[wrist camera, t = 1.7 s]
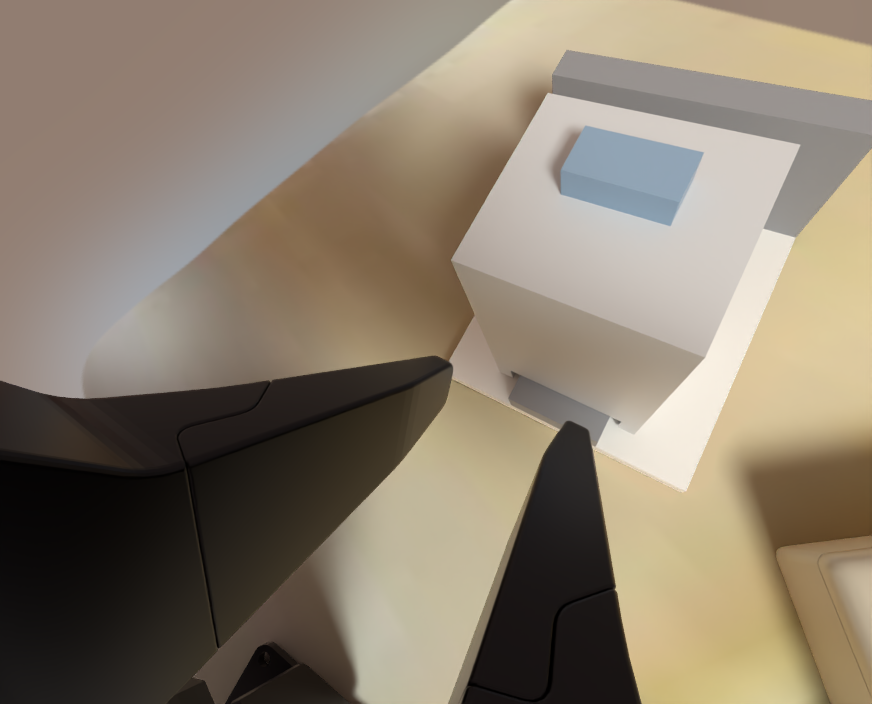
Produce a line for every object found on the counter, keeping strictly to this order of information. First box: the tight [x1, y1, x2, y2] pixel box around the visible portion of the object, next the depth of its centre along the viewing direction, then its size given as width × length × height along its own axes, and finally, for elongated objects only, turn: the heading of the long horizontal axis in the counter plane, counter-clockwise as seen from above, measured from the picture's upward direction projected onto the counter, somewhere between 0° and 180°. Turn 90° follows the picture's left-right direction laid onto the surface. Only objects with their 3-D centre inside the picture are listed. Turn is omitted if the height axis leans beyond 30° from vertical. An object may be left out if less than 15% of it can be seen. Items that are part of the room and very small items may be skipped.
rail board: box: [449, 50, 872, 492], centre depth 17 cm, size 12×10×6 cm
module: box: [451, 93, 800, 435], centre depth 14 cm, size 5×6×10 cm
